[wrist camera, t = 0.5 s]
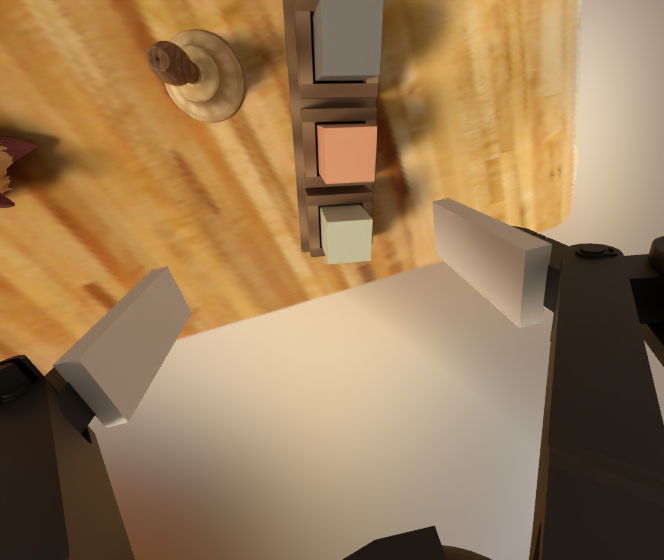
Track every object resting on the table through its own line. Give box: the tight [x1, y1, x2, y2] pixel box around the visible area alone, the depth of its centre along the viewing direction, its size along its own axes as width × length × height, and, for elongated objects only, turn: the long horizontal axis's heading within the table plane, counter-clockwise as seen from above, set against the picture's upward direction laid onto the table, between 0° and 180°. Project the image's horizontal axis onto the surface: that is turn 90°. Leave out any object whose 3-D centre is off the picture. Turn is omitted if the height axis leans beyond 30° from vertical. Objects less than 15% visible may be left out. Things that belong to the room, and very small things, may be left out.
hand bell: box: [147, 30, 245, 123], centre depth 26 cm, size 8×8×16 cm
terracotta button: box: [317, 124, 377, 184], centre depth 32 cm, size 5×5×6 cm
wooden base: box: [283, 0, 379, 257], centre depth 36 cm, size 28×10×5 cm, turn 1°
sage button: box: [320, 204, 373, 264], centre depth 36 cm, size 5×5×6 cm
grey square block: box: [313, 0, 384, 81], centre depth 27 cm, size 5×5×6 cm
